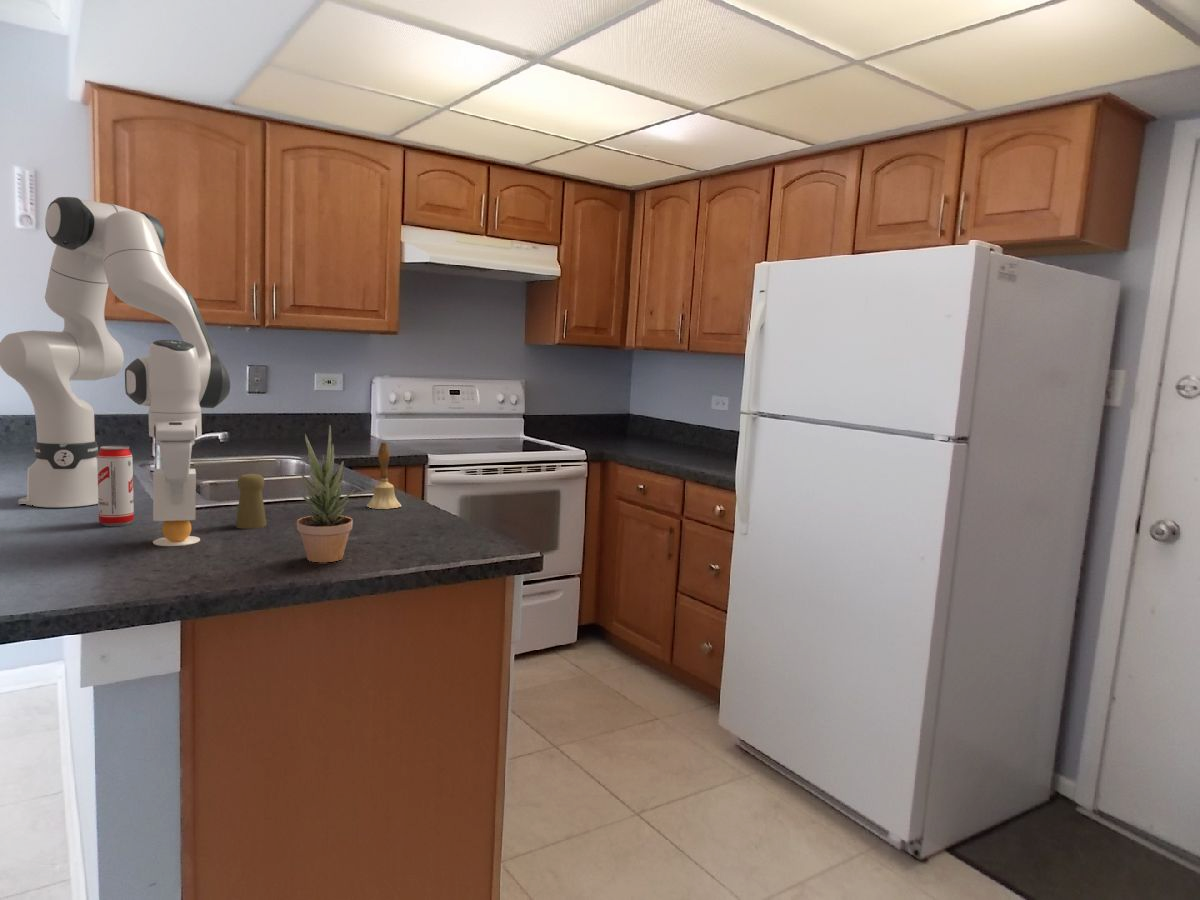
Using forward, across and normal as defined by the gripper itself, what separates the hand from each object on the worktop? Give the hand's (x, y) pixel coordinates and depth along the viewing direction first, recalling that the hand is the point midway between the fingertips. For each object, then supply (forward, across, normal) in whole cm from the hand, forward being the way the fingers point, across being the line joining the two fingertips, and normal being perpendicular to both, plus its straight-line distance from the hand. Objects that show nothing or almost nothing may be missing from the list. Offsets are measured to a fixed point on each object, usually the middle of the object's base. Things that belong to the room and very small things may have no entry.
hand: (177, 499), depth 154 cm
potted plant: (+9, +22, +24) cm, 33 cm away
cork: (+8, -11, +14) cm, 20 cm away
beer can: (+8, -20, -11) cm, 25 cm away
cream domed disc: (+8, 0, 0) cm, 8 cm away
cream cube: (+3, 0, 0) cm, 3 cm away
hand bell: (+8, -25, +45) cm, 52 cm away
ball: (+6, 0, 0) cm, 6 cm away
